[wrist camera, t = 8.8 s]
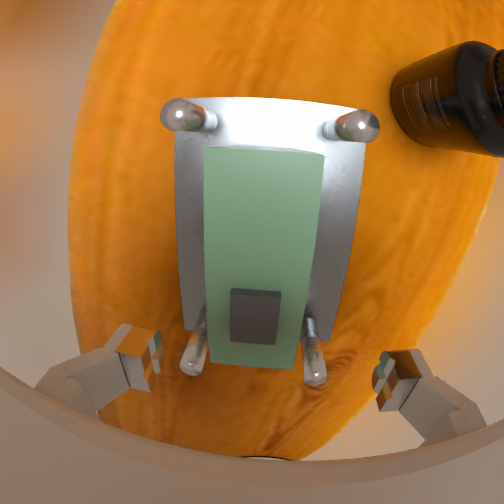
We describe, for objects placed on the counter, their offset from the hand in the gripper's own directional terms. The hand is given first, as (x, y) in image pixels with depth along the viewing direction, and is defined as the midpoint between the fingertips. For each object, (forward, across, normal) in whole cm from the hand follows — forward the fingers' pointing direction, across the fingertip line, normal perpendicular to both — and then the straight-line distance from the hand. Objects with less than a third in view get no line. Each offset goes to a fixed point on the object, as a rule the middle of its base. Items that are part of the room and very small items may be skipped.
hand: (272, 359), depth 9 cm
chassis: (+13, +1, -1) cm, 13 cm away
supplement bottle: (+13, -11, -12) cm, 21 cm away
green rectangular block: (+9, +1, -1) cm, 9 cm away
